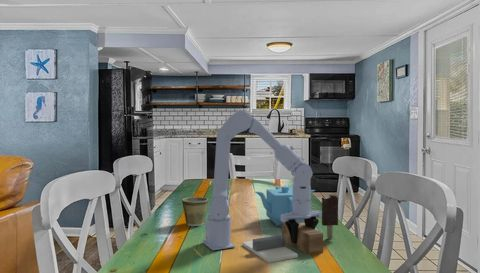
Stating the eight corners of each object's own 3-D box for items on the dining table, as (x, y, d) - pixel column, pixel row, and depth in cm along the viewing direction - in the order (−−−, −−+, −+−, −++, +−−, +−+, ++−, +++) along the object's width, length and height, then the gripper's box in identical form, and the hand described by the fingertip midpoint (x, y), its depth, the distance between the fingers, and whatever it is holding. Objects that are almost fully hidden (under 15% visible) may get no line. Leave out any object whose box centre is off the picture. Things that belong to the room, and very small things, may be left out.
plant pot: (201, 229, 139) (200, 202, 139) (177, 226, 142) (177, 200, 142) (215, 221, 151) (215, 196, 151) (193, 219, 155) (193, 195, 154)
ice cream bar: (323, 239, 126) (323, 195, 126) (321, 238, 128) (321, 194, 127) (338, 239, 126) (338, 195, 126) (336, 237, 128) (336, 194, 128)
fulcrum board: (242, 245, 120) (242, 233, 120) (269, 241, 124) (269, 229, 124) (268, 262, 105) (268, 248, 105) (297, 257, 109) (298, 243, 109)
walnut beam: (281, 240, 126) (281, 222, 126) (294, 238, 128) (294, 220, 128) (309, 254, 111) (309, 235, 111) (323, 252, 114) (323, 233, 113)
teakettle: (295, 232, 135) (295, 192, 134) (252, 224, 146) (252, 187, 145) (316, 221, 150) (316, 185, 150) (275, 215, 161) (276, 181, 161)
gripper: (289, 203, 113) (288, 248, 113) (327, 199, 119) (327, 241, 119) (277, 199, 119) (277, 241, 119) (314, 196, 125) (314, 236, 125)
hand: (301, 241), depth 120 cm, fingers closed on walnut beam, 5 cm apart
